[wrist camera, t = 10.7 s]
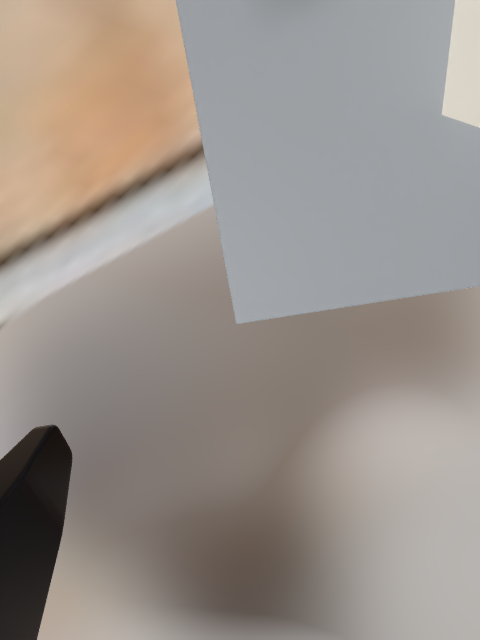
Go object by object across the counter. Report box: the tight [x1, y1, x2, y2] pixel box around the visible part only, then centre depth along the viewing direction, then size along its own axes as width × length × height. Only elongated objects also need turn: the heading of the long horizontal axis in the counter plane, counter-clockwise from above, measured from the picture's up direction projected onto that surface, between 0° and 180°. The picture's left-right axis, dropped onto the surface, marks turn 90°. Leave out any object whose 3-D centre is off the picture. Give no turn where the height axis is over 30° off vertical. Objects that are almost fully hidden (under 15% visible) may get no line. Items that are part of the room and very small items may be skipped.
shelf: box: [176, 0, 480, 324], centre depth 15 cm, size 16×18×6 cm
